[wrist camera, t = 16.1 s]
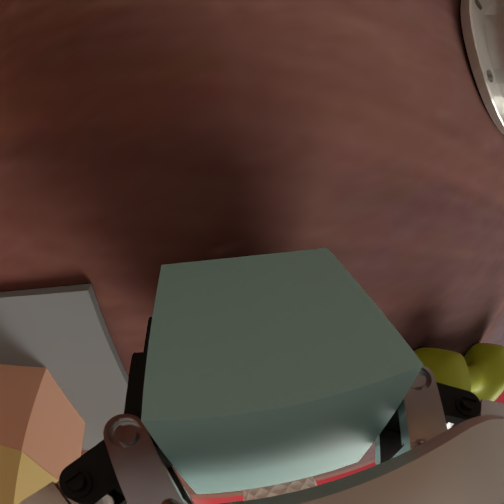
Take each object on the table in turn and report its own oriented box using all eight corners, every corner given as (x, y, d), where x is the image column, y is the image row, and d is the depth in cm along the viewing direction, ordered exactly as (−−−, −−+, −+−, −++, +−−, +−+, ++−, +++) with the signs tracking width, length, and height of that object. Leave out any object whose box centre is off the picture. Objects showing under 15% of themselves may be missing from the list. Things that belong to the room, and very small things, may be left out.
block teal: (161, 264, 10) (141, 420, 4) (327, 247, 10) (423, 364, 5) (188, 375, 12) (196, 494, 7) (311, 357, 13) (358, 461, 8)
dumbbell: (370, 395, 21) (407, 456, 15) (421, 326, 19) (477, 386, 12) (453, 379, 27) (482, 415, 20) (489, 329, 24) (524, 364, 18)
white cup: (232, 479, 24) (250, 551, 16) (234, 455, 21) (259, 547, 12) (298, 468, 26) (323, 534, 17) (314, 440, 23) (350, 522, 14)
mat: (-74, 297, 9) (-78, 301, 8) (91, 283, 12) (88, 290, 11) (19, 433, 16) (18, 437, 15) (166, 446, 19) (166, 452, 18)
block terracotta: (-15, 362, 11) (-43, 428, 6) (46, 367, 12) (21, 450, 7) (26, 415, 14) (11, 475, 9) (85, 422, 15) (77, 493, 10)
